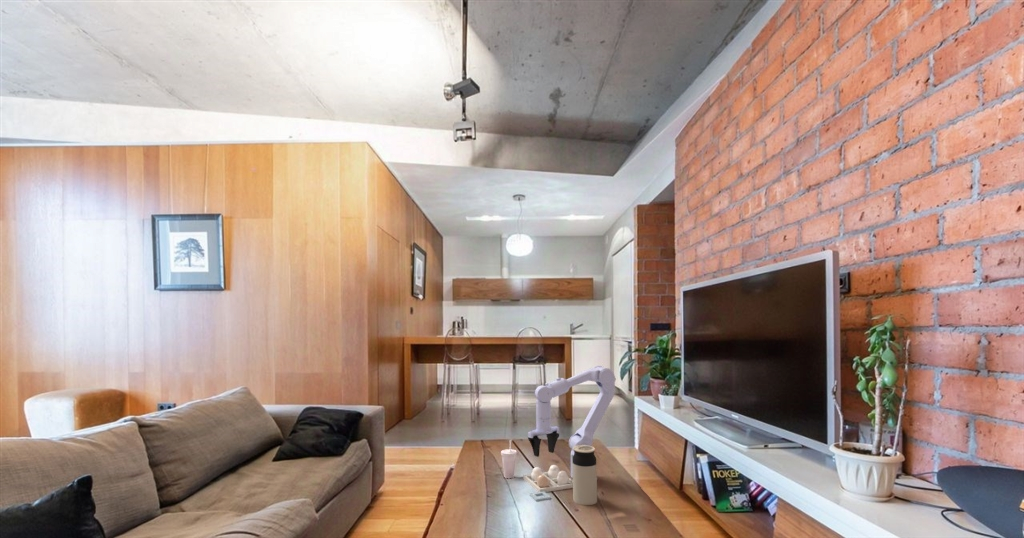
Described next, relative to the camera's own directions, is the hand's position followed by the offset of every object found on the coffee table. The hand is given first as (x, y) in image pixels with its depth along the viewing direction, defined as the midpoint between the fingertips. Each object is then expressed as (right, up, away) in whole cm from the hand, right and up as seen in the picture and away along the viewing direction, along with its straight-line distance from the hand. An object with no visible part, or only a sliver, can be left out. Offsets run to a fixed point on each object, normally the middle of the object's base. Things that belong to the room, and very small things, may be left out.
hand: (543, 454), depth 175 cm
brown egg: (0, -8, -10) cm, 13 cm away
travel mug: (+12, -8, -22) cm, 26 cm away
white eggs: (+2, -9, -6) cm, 11 cm away
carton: (+2, -9, -6) cm, 11 cm away
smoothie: (-14, -11, +3) cm, 17 cm away
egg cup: (-3, -8, -19) cm, 21 cm away
